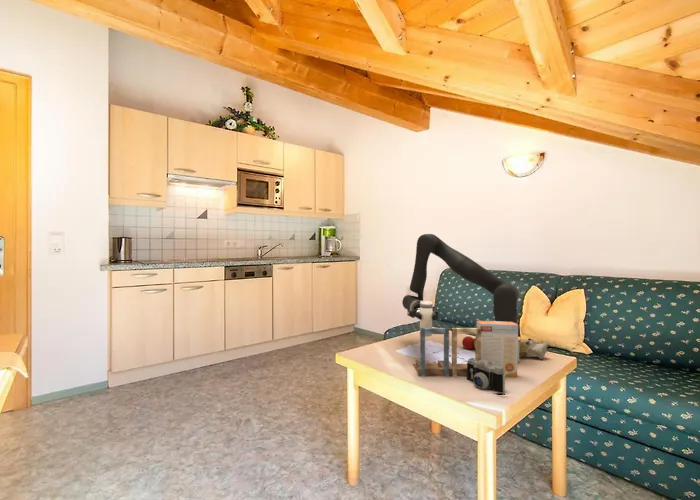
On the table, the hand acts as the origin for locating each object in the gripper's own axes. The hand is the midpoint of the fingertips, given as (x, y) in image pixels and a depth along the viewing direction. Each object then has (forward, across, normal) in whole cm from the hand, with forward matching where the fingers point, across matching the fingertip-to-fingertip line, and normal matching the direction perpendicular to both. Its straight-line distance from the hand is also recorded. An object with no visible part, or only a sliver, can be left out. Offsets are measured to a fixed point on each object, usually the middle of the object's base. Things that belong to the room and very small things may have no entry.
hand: (427, 317), depth 140 cm
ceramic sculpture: (-14, +49, +21) cm, 55 cm away
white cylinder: (-3, 0, +8) cm, 8 cm away
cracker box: (+9, +24, +21) cm, 33 cm away
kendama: (-25, +32, +21) cm, 46 cm away
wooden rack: (+6, +6, +21) cm, 22 cm away
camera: (+20, +15, +21) cm, 33 cm away
